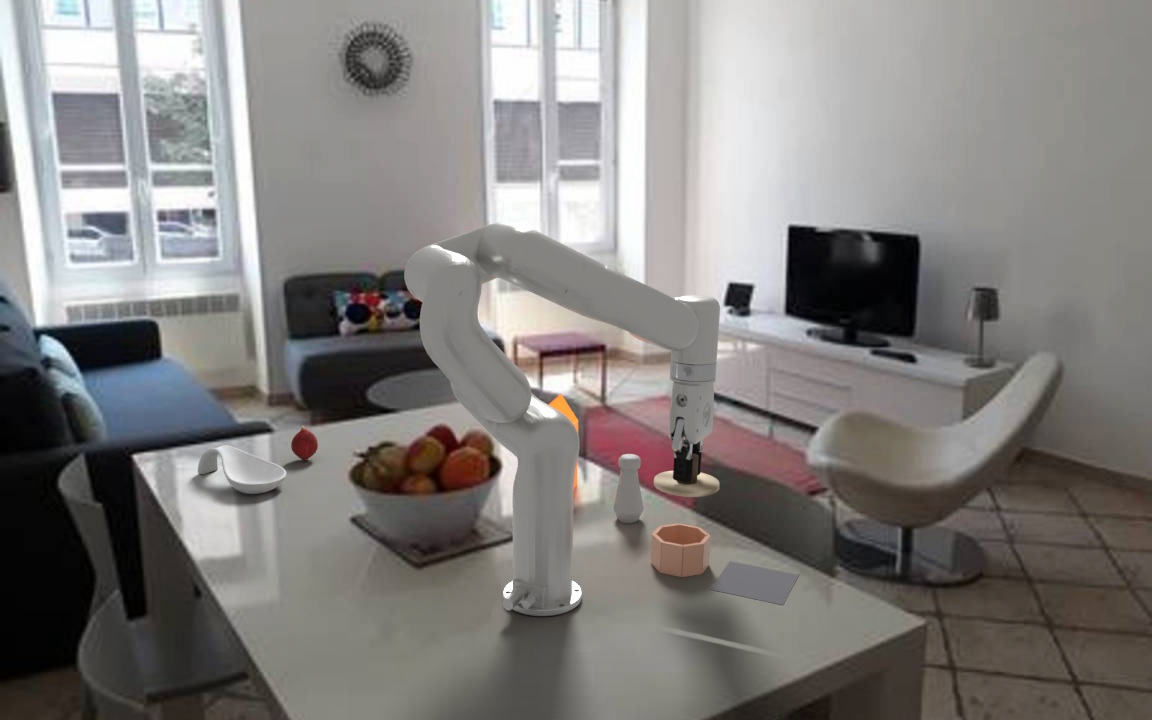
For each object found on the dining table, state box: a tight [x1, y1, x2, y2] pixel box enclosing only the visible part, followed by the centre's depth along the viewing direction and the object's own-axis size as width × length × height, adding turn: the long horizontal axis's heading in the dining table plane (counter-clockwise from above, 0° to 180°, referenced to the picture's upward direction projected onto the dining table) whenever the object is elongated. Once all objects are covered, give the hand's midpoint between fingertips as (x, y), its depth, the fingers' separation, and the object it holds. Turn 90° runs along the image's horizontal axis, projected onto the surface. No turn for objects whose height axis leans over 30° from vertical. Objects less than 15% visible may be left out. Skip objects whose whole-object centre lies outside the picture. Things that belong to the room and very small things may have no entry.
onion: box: [290, 425, 319, 461], centre depth 214 cm, size 6×6×8 cm
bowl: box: [650, 522, 711, 578], centre depth 162 cm, size 9×9×6 cm
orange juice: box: [548, 393, 579, 489], centre depth 197 cm, size 8×9×20 cm
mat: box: [709, 560, 800, 606], centre depth 156 cm, size 12×12×1 cm
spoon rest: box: [197, 444, 287, 495], centre depth 199 cm, size 24×12×7 cm, turn 56°
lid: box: [653, 453, 720, 498], centre depth 158 cm, size 11×11×5 cm
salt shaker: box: [613, 453, 645, 524], centre depth 182 cm, size 6×6×13 cm
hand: (686, 476), depth 159 cm, fingers closed on lid, 3 cm apart
